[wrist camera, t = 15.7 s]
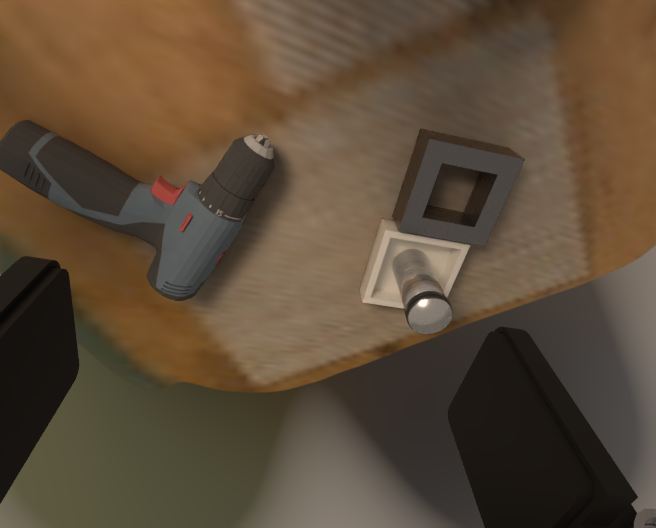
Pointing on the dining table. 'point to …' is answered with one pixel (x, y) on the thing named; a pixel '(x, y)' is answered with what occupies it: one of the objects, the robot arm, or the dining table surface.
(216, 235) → the power drill
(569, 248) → the dining table surface
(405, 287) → the shiny metal canister
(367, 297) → the tray
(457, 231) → the block
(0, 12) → the dining table surface
